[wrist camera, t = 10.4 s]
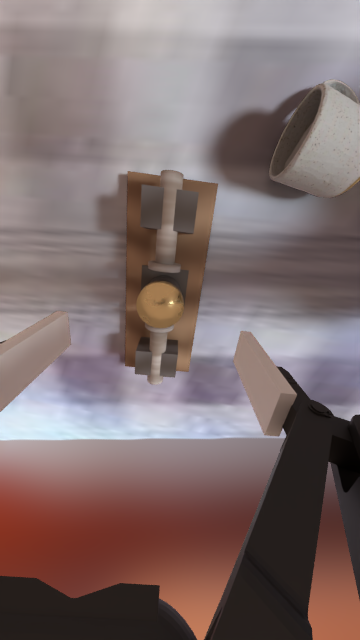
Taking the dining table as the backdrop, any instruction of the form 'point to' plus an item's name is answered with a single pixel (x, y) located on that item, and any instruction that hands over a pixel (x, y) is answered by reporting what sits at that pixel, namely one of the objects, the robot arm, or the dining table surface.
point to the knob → (160, 302)
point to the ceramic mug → (321, 143)
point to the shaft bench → (165, 264)
